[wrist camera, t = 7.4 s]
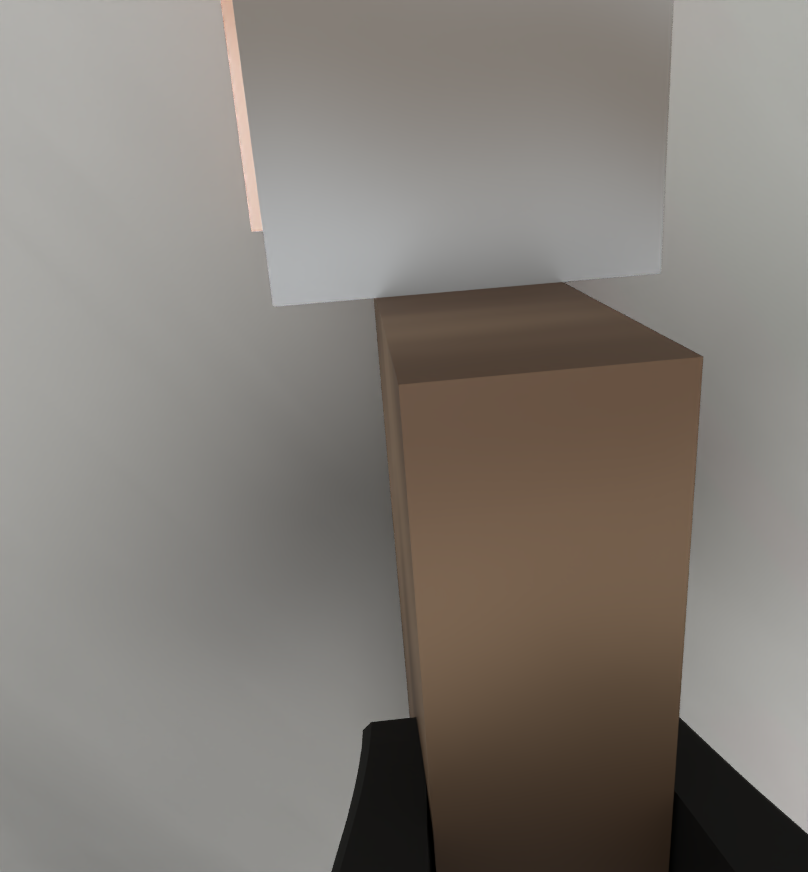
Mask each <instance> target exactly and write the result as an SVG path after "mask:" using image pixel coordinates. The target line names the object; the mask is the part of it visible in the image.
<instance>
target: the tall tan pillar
mask: <svg viewBox="0 0 808 872" xmlns="http://www.w3.org/2000/svg"><path fill="white" fill-rule="evenodd" d="M673 1H674V0H232V2H233V10H234V17H235V25H236V32H237V40H238V47H239V55H240V62H241V70H242V77H243V85H244V92H245V100H246V107H247V115H248V122H249V130H250V137H251V145H252V153H253V160H254V168H255V175H256V183H257V190H258V198H259V205H260V213H261V220H262V228H263V235H264V243H265V250H266V258H267V265H268V273H269V280H270V288H271V296H272V303H273V307H277V306H289V305H301V304H312V303H324V302H335V301H347V300H359V299H370V298H374V307H375V318H376V330H377V342H378V353H379V365H380V377H381V388H382V400H383V411H384V423H385V435H386V446H387V458H388V469H389V481H390V493H391V504H392V516H393V528H394V539H395V551H396V562H397V574H398V586H399V597H400V609H401V621H402V632H403V644H404V655H405V667H406V679H407V690H408V702H409V714H410V718H413V717H416V719H417V725H418V731H419V737H420V743H421V750H422V757H423V763H424V770H425V777H426V785H427V798H428V811H429V824H430V837H431V849H432V862H433V872H669V858H670V843H671V828H672V813H673V799H674V784H675V769H676V754H677V739H678V724H679V709H680V694H681V679H682V664H683V650H684V635H685V620H686V605H687V590H688V575H689V560H690V545H691V530H692V515H693V501H694V486H695V471H696V456H697V441H698V426H699V411H700V396H701V381H702V366H703V356H701V355H699V354H697V353H695V352H693V351H691V350H690V349H688V348H686V347H684V346H682V345H680V344H678V343H676V342H674V341H673V340H671V339H669V338H667V337H665V336H663V335H661V334H659V333H657V332H656V331H654V330H652V329H650V328H648V327H646V326H644V325H642V324H640V323H639V322H637V321H635V320H633V319H631V318H629V317H627V316H625V315H623V314H622V313H620V312H618V311H616V310H614V309H612V308H610V307H608V306H606V305H605V304H603V303H601V302H599V301H597V300H595V299H593V298H591V297H589V296H588V295H586V294H584V293H582V292H580V291H578V290H576V289H574V288H572V287H571V286H569V285H567V284H565V283H563V282H568V281H580V280H591V279H603V278H615V277H626V276H638V275H649V274H661V264H662V242H663V220H664V198H665V176H666V154H667V132H668V110H669V88H670V66H671V45H672V23H673Z"/></svg>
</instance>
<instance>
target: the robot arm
mask: <svg viewBox="0 0 808 872" xmlns="http://www.w3.org/2000/svg"><path fill="white" fill-rule="evenodd" d="M331 872H433V862H432V849H431V837H430V824H429V811H428V798H427V785H426V777H425V770H424V763H423V757H422V750H421V743H420V737H419V731H418V725H417V719H416V717H413V718H404V719H395V720H386V721H378V722H371V723H370V724H369V725H368V726H367V727H366V728H365V729H364V730H363V738H362V750H361V756H360V763H359V769H358V774H357V779H356V784H355V789H354V793H353V797H352V801H351V805H350V809H349V813H348V817H347V821H346V824H345V828H344V831H343V834H342V838H341V841H340V844H339V848H338V851H337V855H336V858H335V861H334V865H333V868H332V871H331ZM669 872H808V834H807V833H806V832H805V831H804V830H802V829H801V828H800V827H799V826H798V825H797V824H796V823H794V822H793V821H792V820H791V819H790V818H789V817H788V816H787V815H785V814H784V813H783V812H782V811H781V810H780V809H779V808H777V807H776V806H775V805H774V804H773V803H772V802H771V801H769V800H768V799H767V798H766V797H765V796H764V795H763V794H761V793H760V792H759V791H758V790H757V789H756V788H755V787H754V786H753V785H751V784H750V783H749V782H748V781H747V780H746V779H745V778H744V777H743V776H742V775H740V774H739V773H738V772H737V771H736V770H735V769H734V768H733V767H732V766H731V765H730V764H729V763H727V762H726V761H725V760H724V759H723V758H722V757H721V756H720V755H719V754H718V753H717V752H716V751H715V750H714V749H712V748H711V747H710V746H709V745H708V744H707V743H706V742H705V741H704V740H703V739H702V738H701V737H700V736H699V735H698V734H697V733H696V732H694V731H693V730H692V729H691V728H690V727H689V726H688V725H687V724H686V723H685V722H684V721H683V720H682V719H681V718H680V717H679V724H678V739H677V754H676V769H675V784H674V799H673V813H672V828H671V843H670V858H669Z"/></svg>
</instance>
